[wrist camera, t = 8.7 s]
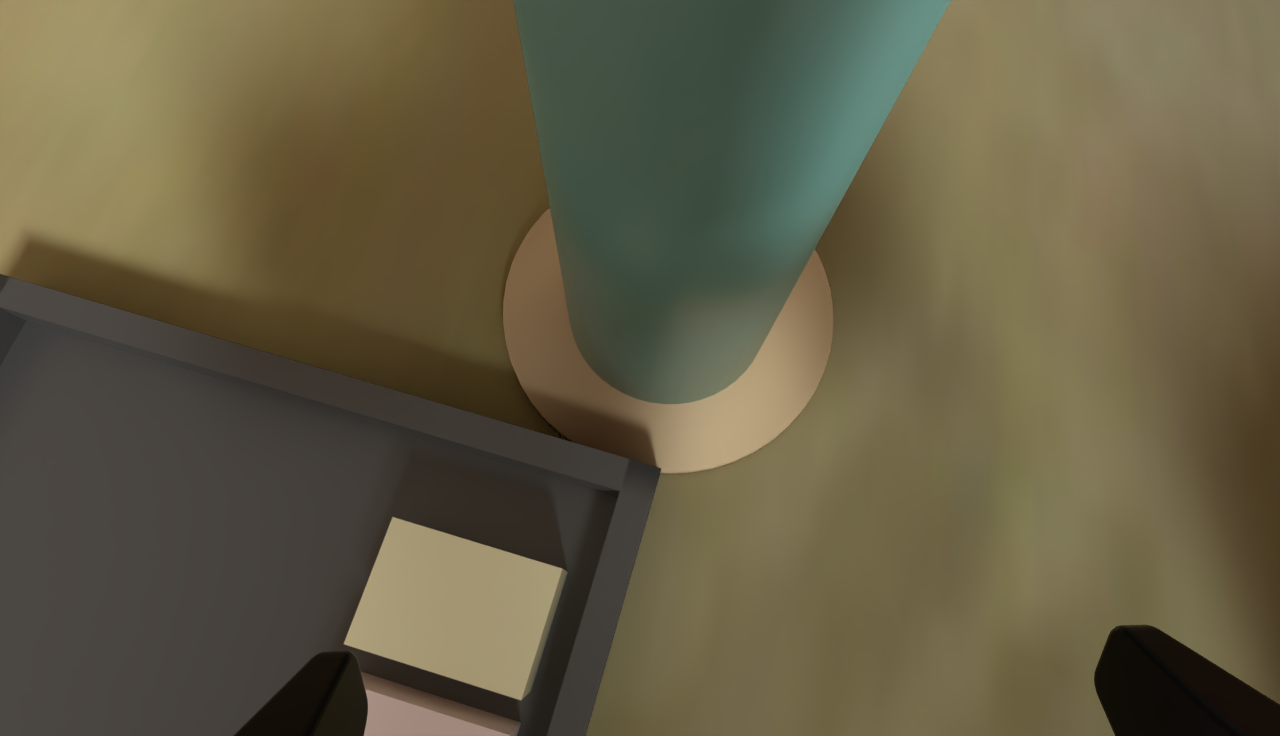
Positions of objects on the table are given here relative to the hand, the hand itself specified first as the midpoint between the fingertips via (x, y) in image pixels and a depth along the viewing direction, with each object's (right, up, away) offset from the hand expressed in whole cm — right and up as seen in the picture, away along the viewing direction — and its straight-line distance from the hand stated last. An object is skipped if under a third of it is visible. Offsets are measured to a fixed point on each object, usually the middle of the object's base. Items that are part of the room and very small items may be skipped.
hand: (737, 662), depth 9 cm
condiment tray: (-11, -4, +9) cm, 15 cm away
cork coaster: (0, +5, +12) cm, 13 cm away
